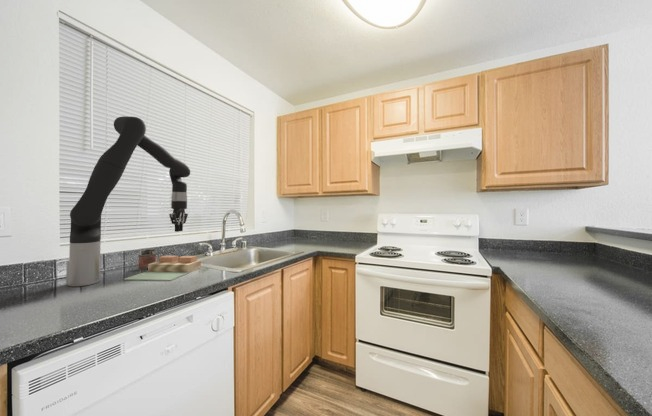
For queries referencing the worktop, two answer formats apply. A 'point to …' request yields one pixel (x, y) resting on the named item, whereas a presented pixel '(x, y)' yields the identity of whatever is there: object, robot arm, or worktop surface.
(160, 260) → the tile
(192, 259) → the tile
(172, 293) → the worktop surface
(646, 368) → the worktop surface
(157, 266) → the wooden tray
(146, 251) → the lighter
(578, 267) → the worktop surface
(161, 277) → the mat
